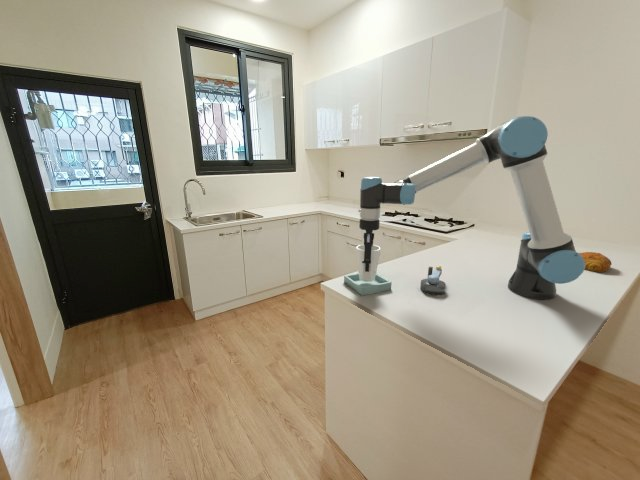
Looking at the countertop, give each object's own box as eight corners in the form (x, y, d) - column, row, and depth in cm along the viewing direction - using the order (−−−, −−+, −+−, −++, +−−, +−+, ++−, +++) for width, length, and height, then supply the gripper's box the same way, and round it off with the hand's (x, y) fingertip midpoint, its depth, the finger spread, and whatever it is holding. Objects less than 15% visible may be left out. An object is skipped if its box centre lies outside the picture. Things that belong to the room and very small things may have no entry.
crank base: (451, 292, 113) (453, 276, 111) (432, 297, 109) (433, 280, 107) (429, 281, 123) (430, 266, 122) (410, 285, 120) (411, 270, 118)
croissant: (608, 270, 140) (613, 254, 139) (609, 275, 129) (614, 257, 127) (569, 262, 150) (573, 247, 148) (567, 266, 139) (571, 250, 137)
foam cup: (364, 285, 112) (365, 252, 109) (350, 276, 120) (351, 246, 117) (383, 280, 116) (385, 249, 113) (369, 272, 124) (371, 243, 121)
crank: (437, 285, 111) (438, 277, 110) (426, 283, 113) (427, 275, 112) (443, 274, 122) (444, 266, 121) (433, 272, 124) (434, 264, 123)
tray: (391, 289, 116) (391, 282, 115) (361, 295, 110) (361, 288, 110) (371, 277, 128) (372, 270, 127) (344, 282, 123) (344, 275, 122)
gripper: (361, 213, 123) (359, 263, 129) (357, 224, 102) (355, 284, 108) (379, 213, 122) (377, 265, 128) (379, 225, 101) (376, 285, 107)
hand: (367, 273), depth 118 cm, fingers closed on foam cup, 9 cm apart
